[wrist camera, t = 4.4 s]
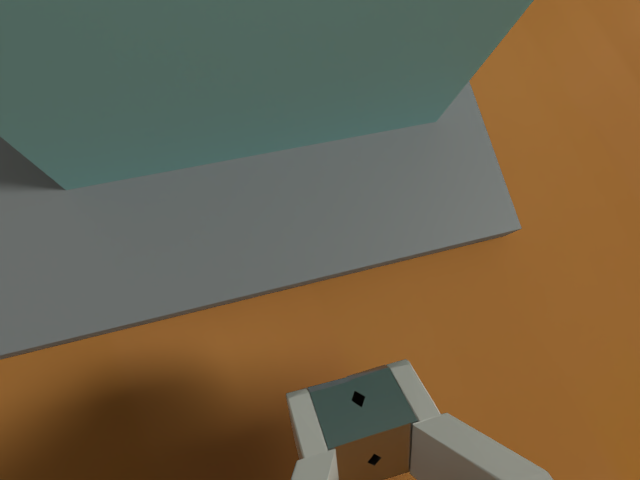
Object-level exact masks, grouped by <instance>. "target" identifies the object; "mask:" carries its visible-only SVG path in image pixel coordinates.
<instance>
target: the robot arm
mask: <svg viewBox="0 0 640 480" xmlns="http://www.w3.org/2000/svg"><path fill="white" fill-rule="evenodd" d="M286 399H287V404H288V410H289V415H290V420H291V425H292V430H293V435H294V439H295V444H296V448H297V452H298V456H299V459H300V460H297V462H296V465H295V468H294V471H293V474H292V477H291V480H384V479H388V478H391V477H394V476H397V475H400V474H404V473H407V472H410V474H411V475H412V476H414V477H415V478H416V479H417V480H553V479H552V477H551V476H550V475H549V473H548V472H547V471H546V470H544V469H542V468H541V467H539V466H537V465H535V464H534V463H532V462H530V461H529V460H527V459H525V458H523V457H522V456H520V455H518V454H517V453H515V452H513V451H512V450H510V449H508V448H506V447H505V446H503V445H501V444H500V443H498V442H496V441H494V440H493V439H491V438H489V437H488V436H486V435H484V434H482V433H481V432H479V431H477V430H476V429H474V428H472V427H471V426H469V425H467V424H465V423H464V422H462V421H460V420H459V419H457V418H455V417H453V416H452V415H450V414H448V413H444V414H441V413H440V412H439V410H438V408H437V407H436V405H435V403H434V402H433V400H432V399H431V397H430V395H429V394H428V392H427V390H426V389H425V387H424V385H423V384H422V382H421V380H420V379H419V377H418V375H417V374H416V372H415V370H414V369H413V367H412V365H411V364H410V362H409V361H407V360H406V359H405V360H401V361H398V362H394V363H391V364H388V365H382V366H379V367H376V368H373V369H369V370H366V371H363V372H360V373H356V374H353V375H350V376H347V377H346V378H342V379H338V380H335V381H331V382H327V383H323V384H319V385H315V386H312V387H308V388H304V389H301V390H297V391H293V392H290V393H286Z"/></svg>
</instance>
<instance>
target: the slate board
mask: <svg viewBox="0 0 640 480" xmlns="http://www.w3.org/2000/svg"><path fill="white" fill-rule="evenodd" d="M519 229H522V228H521V226H520V223H519V220H518V217H517V214H516V212H515V209H514V206H513V203H512V200H511V198H510V195H509V192H508V189H507V186H506V183H505V181H504V178H503V175H502V172H501V169H500V167H499V164H498V161H497V158H496V155H495V153H494V150H493V147H492V144H491V141H490V139H489V136H488V133H487V130H486V127H485V125H484V122H483V119H482V116H481V113H480V111H479V108H478V105H477V102H476V99H475V96H474V94H473V91H472V88H471V85H470V82H469V81H468V83H467V84H466V85H465V86H464V88H463V89H462V90H461V91H460V93H459V94H458V95H457V96H456V98H455V99H454V100H453V101H452V103H451V104H450V105H449V106H448V108H447V109H446V110H445V111H444V113H443V114H442V115H441V116H440V118H439V119H438V120H437V121H436V122H432V123H427V124H421V125H416V126H410V127H405V128H399V129H394V130H389V131H383V132H378V133H372V134H367V135H362V136H356V137H351V138H345V139H340V140H335V141H329V142H324V143H318V144H313V145H308V146H302V147H297V148H291V149H286V150H281V151H275V152H270V153H264V154H259V155H254V156H248V157H243V158H237V159H232V160H226V161H221V162H216V163H210V164H205V165H199V166H194V167H189V168H183V169H178V170H172V171H167V172H162V173H156V174H151V175H145V176H140V177H135V178H129V179H124V180H118V181H113V182H108V183H102V184H97V185H91V186H86V187H80V188H75V189H70V190H65V189H64V188H63V187H61V186H60V185H59V184H58V183H56V182H55V181H54V180H53V179H52V178H50V177H49V176H48V175H47V174H45V173H44V172H43V171H42V170H41V169H39V168H38V167H37V166H36V165H34V164H33V163H32V162H31V161H30V160H28V159H27V158H26V157H25V156H23V155H22V154H21V153H20V152H18V151H17V150H16V149H15V148H14V147H12V146H11V145H10V144H9V143H7V142H6V141H5V140H4V139H3V138H1V137H0V359H4V358H8V357H12V356H16V355H21V354H25V353H29V352H33V351H37V350H41V349H45V348H49V347H53V346H57V345H61V344H65V343H70V342H74V341H78V340H82V339H86V338H90V337H94V336H98V335H102V334H106V333H110V332H114V331H119V330H123V329H127V328H131V327H135V326H139V325H143V324H147V323H151V322H155V321H159V320H163V319H168V318H172V317H176V316H180V315H184V314H188V313H192V312H196V311H200V310H204V309H208V308H212V307H216V306H221V305H225V304H229V303H233V302H237V301H241V300H245V299H249V298H253V297H257V296H261V295H265V294H270V293H274V292H278V291H282V290H286V289H290V288H294V287H298V286H302V285H306V284H310V283H314V282H319V281H323V280H327V279H331V278H335V277H339V276H343V275H347V274H351V273H355V272H359V271H363V270H368V269H372V268H376V267H380V266H384V265H388V264H392V263H396V262H400V261H404V260H408V259H412V258H417V257H421V256H425V255H429V254H433V253H437V252H441V251H445V250H449V249H453V248H457V247H461V246H466V245H470V244H474V243H478V242H482V241H486V240H490V239H494V238H498V237H502V236H506V235H508V234H510V233H513V232H515V231H517V230H519Z"/></svg>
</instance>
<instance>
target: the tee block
mask: <svg viewBox="0 0 640 480" xmlns="http://www.w3.org/2000/svg"><path fill="white" fill-rule="evenodd" d="M532 2H533V0H0V137H1V138H3V139H4V140H5V141H6V142H7V143H9V144H10V145H11V146H12V147H14V148H15V149H16V150H17V151H18V152H20V153H21V154H22V155H23V156H25V157H26V158H27V159H28V160H30V161H31V162H32V163H33V164H34V165H36V166H37V167H38V168H39V169H41V170H42V171H43V172H44V173H45V174H47V175H48V176H49V177H50V178H52V179H53V180H54V181H55V182H56V183H58V184H59V185H60V186H61V187H63V188H64V189H65V190H70V189H75V188H80V187H86V186H91V185H97V184H102V183H108V182H113V181H118V180H124V179H129V178H135V177H140V176H145V175H151V174H156V173H162V172H167V171H172V170H178V169H183V168H189V167H194V166H199V165H205V164H210V163H216V162H221V161H226V160H232V159H237V158H243V157H248V156H254V155H259V154H264V153H270V152H275V151H281V150H286V149H291V148H297V147H302V146H308V145H313V144H318V143H324V142H329V141H335V140H340V139H345V138H351V137H356V136H362V135H367V134H372V133H378V132H383V131H389V130H394V129H399V128H405V127H410V126H416V125H421V124H427V123H432V122H436V121H437V120H438V119H439V118H440V116H441V115H442V114H443V113H444V111H445V110H446V109H447V108H448V106H449V105H450V104H451V103H452V101H453V100H454V99H455V98H456V96H457V95H458V94H459V93H460V91H461V90H462V89H463V88H464V86H465V85H466V84H467V83H468V81H469V80H470V79H471V78H472V76H473V75H474V74H475V73H476V72H477V70H478V69H479V68H480V67H481V65H482V64H483V63H484V62H485V60H486V59H487V58H488V57H489V55H490V54H491V53H492V52H493V50H494V49H495V48H496V47H497V45H498V44H499V43H500V42H501V40H502V39H503V38H504V37H505V35H506V34H507V33H508V32H509V30H510V29H511V28H512V27H513V25H514V24H515V23H516V22H517V20H518V19H519V18H520V17H521V15H522V14H523V13H524V12H525V10H526V9H527V8H528V7H529V5H530V4H531V3H532Z"/></svg>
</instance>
